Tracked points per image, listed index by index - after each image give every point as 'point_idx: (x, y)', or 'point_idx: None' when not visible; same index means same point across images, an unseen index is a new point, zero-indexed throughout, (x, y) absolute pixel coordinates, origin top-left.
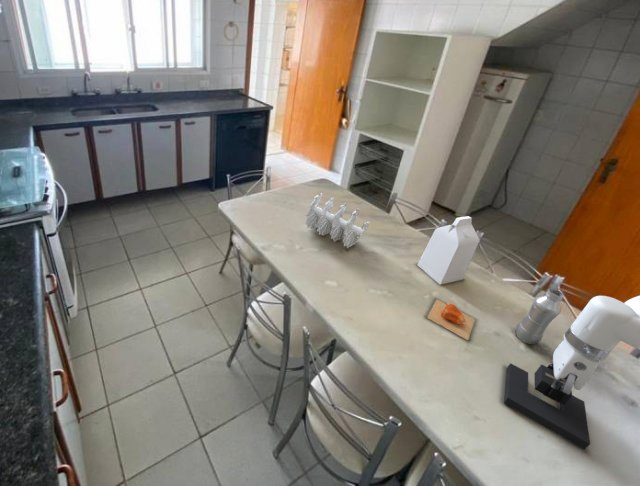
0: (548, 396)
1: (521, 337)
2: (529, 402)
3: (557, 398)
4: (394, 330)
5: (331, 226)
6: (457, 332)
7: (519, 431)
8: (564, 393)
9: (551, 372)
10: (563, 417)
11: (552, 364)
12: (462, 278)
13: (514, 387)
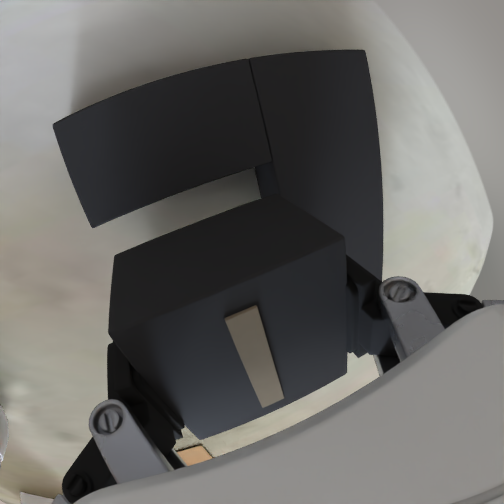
0: None
1: (5, 419)
2: None
3: (347, 256)
4: None
5: None
6: (202, 458)
7: (413, 226)
8: (440, 295)
9: (214, 403)
10: (317, 159)
11: (179, 457)
12: (23, 495)
13: None
